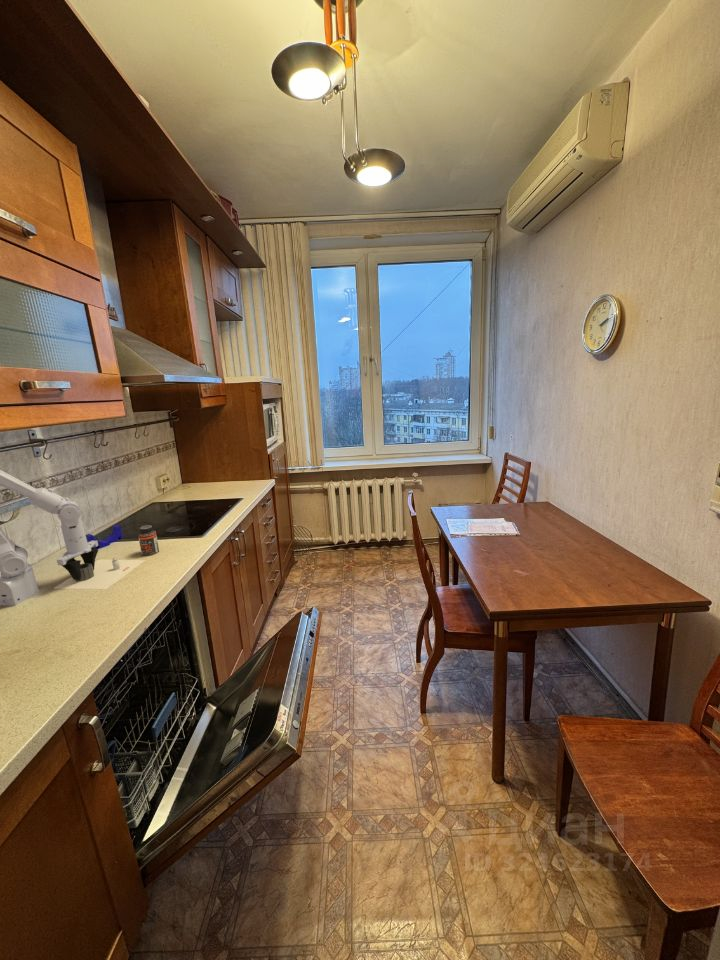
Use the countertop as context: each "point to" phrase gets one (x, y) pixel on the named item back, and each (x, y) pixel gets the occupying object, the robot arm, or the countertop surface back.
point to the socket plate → (102, 574)
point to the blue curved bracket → (112, 538)
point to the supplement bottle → (148, 541)
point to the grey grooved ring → (86, 571)
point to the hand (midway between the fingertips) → (84, 574)
